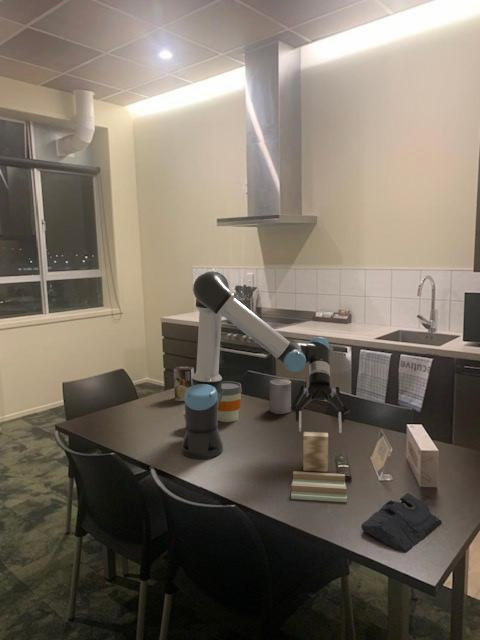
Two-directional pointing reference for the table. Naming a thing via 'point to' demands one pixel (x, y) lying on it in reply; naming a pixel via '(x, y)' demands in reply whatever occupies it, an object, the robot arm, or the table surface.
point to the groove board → (319, 486)
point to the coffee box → (182, 381)
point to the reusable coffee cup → (229, 402)
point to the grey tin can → (280, 396)
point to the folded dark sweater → (402, 523)
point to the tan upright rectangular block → (315, 451)
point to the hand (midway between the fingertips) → (320, 430)
